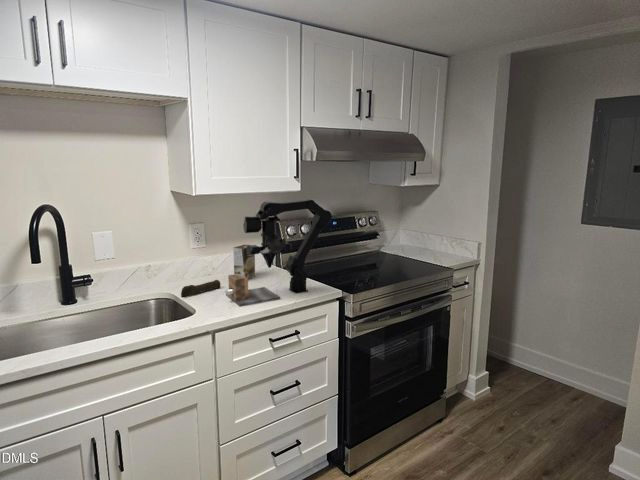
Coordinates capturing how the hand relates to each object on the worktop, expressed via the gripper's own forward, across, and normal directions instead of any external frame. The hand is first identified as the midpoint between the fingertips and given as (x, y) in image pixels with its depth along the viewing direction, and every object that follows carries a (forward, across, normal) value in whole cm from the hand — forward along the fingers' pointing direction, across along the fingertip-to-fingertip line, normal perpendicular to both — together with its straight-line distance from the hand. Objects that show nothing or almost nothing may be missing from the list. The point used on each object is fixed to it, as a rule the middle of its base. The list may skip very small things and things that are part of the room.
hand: (269, 267), depth 183 cm
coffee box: (+12, 0, +29) cm, 31 cm away
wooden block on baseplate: (+12, -8, 0) cm, 14 cm away
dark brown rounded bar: (+12, -25, +17) cm, 33 cm away
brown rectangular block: (+11, -15, 0) cm, 19 cm away
